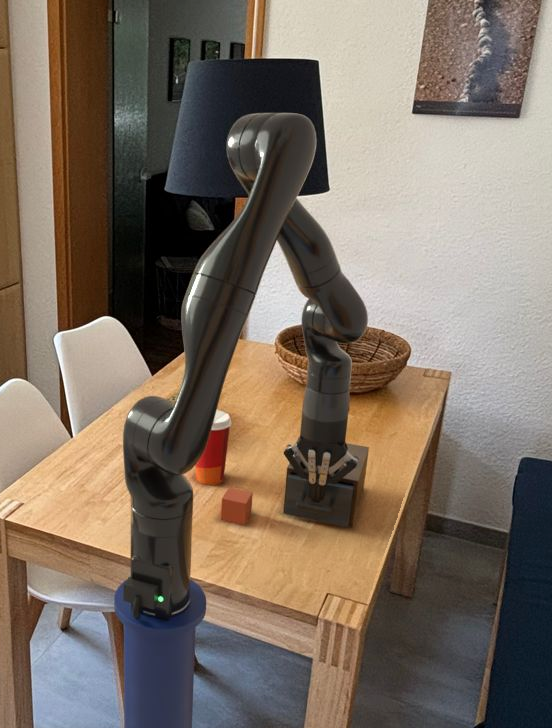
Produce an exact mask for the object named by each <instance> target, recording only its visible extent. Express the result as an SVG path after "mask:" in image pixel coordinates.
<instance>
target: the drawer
mask: <svg viewBox="0 0 552 728" xmlns="http://www.w3.org/2000/svg"><path fill="white" fill-rule="evenodd" d="M318 479H319V478H318ZM308 488H309V482H308V480H306V479H305V478H304V479H302V478H300V477H299V476H298V474H297V473H295V474H294V475H291V474H289V476H288V482H287V493H286V505H285V513H284V515H288V516H292V517H297V518H301V519H302V518H303V519H307V520H310V521H317V522H321V523H325V524H330V525H335V526H340V527H343V528H349V527H348V526H349V521H350V513H351V505H352V497H353V489H354V486H353V484H350V483H345V482H340V481H338V482H337V483H336V484H334V485H333V484H331V483H330V484H327V486H326V495H325V498H324V499H323V501H322V500H321V501H320V503H316V502H311V498H309V497H308Z"/></svg>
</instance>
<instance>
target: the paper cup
mask: <svg viewBox="0 0 552 728" xmlns="http://www.w3.org/2000/svg"><path fill="white" fill-rule="evenodd" d="M232 423H233V422H232V420H231V417H230V414H229V413H226V412H225V411H223V410H220V409H217V411H216V414H215V418H214V422H213V426H212V429H211V433H210V436H209V439H208V442H207V445H206V448H205V450H204V452H203V454H202V456H201V458H200V460H199V461H198V462H197V464H196V465H195V466H194V469H195V479H196V481H197V482H198V483H200V484H202V485H205V486H216V485H219V484H221V483H222V482H223V481H224V478H225V470H226V464H227V463H226V462H227V455H228V454H227V453H228V445H229V438H230V437H229V436H230V428H231V426H232Z"/></svg>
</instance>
